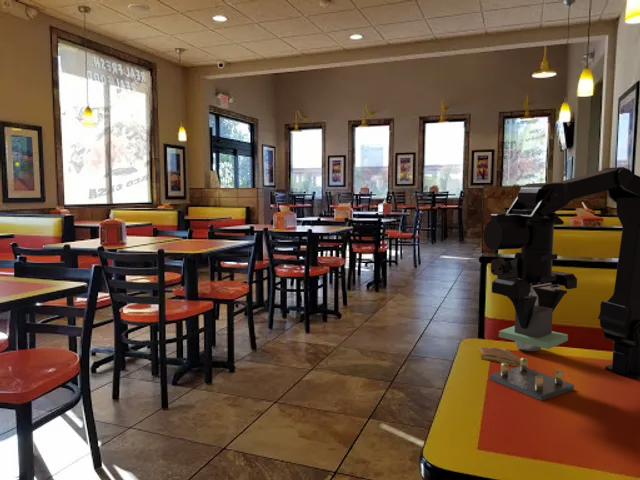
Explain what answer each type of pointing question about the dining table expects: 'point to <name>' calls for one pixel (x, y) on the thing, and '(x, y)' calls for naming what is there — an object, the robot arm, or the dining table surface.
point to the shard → (499, 356)
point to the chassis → (532, 381)
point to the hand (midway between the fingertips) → (533, 326)
